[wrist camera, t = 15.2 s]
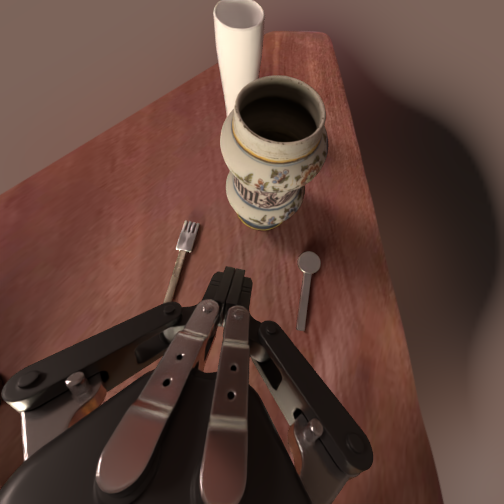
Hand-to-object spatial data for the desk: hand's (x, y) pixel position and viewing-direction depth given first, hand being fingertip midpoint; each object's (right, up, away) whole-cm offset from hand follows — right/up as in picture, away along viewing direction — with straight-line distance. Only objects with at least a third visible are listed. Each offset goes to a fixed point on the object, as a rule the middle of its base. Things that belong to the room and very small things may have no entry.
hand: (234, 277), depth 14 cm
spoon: (+10, -4, +17) cm, 20 cm away
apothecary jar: (+3, +10, +20) cm, 23 cm away
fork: (-10, 0, +17) cm, 20 cm away
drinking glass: (-1, +29, +24) cm, 38 cm away
